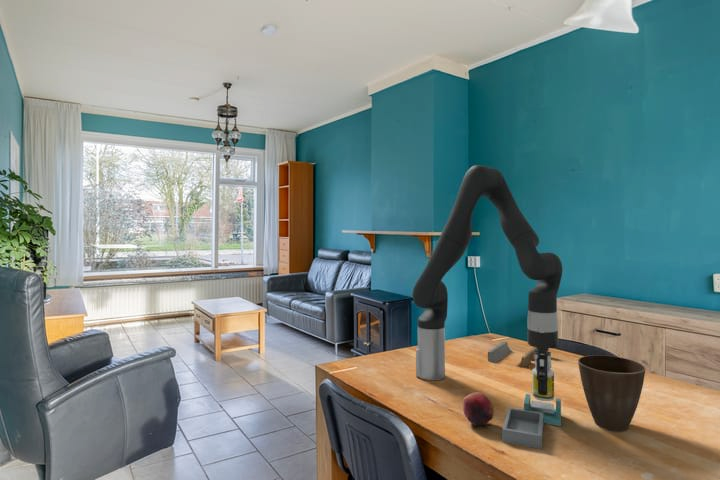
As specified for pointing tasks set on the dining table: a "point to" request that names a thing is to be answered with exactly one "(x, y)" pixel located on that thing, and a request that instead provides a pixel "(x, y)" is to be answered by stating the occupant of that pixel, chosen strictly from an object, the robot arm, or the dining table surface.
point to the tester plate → (542, 407)
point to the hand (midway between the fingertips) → (543, 390)
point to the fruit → (478, 408)
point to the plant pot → (611, 389)
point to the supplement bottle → (549, 386)
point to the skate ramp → (504, 350)
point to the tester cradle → (547, 417)
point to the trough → (523, 428)
